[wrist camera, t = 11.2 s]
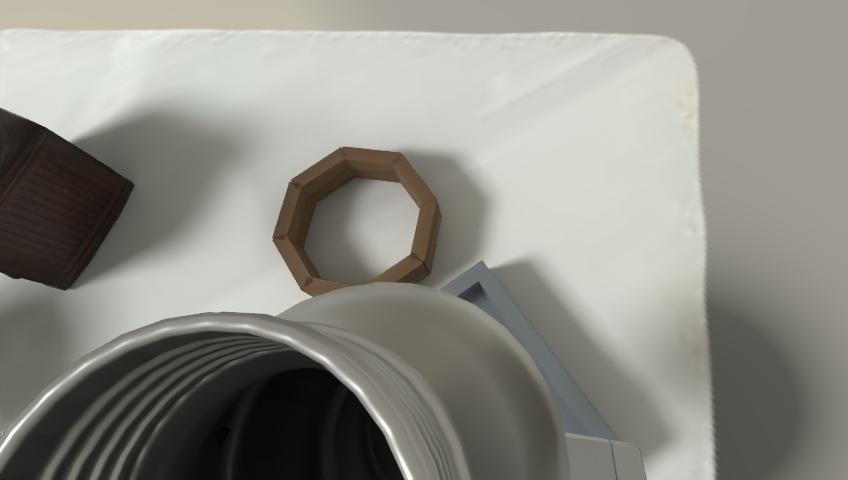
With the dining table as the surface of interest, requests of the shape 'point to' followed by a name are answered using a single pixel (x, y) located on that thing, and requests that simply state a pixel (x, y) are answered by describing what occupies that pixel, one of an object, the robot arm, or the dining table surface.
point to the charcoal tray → (531, 350)
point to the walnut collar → (329, 179)
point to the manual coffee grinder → (52, 203)
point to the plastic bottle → (300, 398)
